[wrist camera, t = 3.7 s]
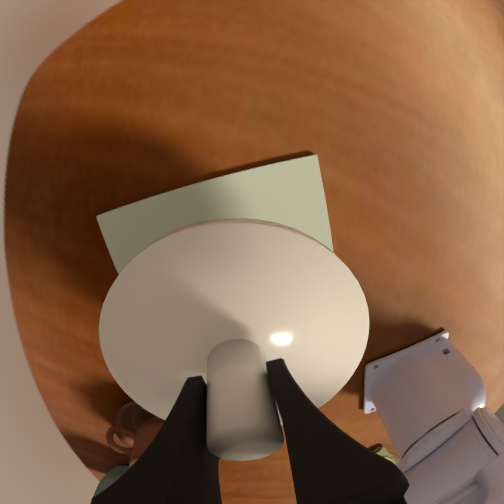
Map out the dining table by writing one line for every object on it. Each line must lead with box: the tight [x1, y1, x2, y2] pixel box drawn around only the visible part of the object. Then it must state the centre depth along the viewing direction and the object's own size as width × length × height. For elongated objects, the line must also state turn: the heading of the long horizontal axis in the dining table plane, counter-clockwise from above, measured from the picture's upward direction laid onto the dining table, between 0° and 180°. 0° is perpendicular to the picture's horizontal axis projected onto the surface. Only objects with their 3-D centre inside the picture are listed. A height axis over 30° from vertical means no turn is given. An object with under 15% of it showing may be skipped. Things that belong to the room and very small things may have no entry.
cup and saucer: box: [106, 401, 221, 468], centre depth 22 cm, size 12×12×6 cm
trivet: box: [96, 154, 333, 275], centre depth 19 cm, size 14×14×1 cm
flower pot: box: [90, 466, 129, 504], centre depth 24 cm, size 9×9×9 cm
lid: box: [99, 218, 369, 461], centre depth 11 cm, size 12×12×5 cm
